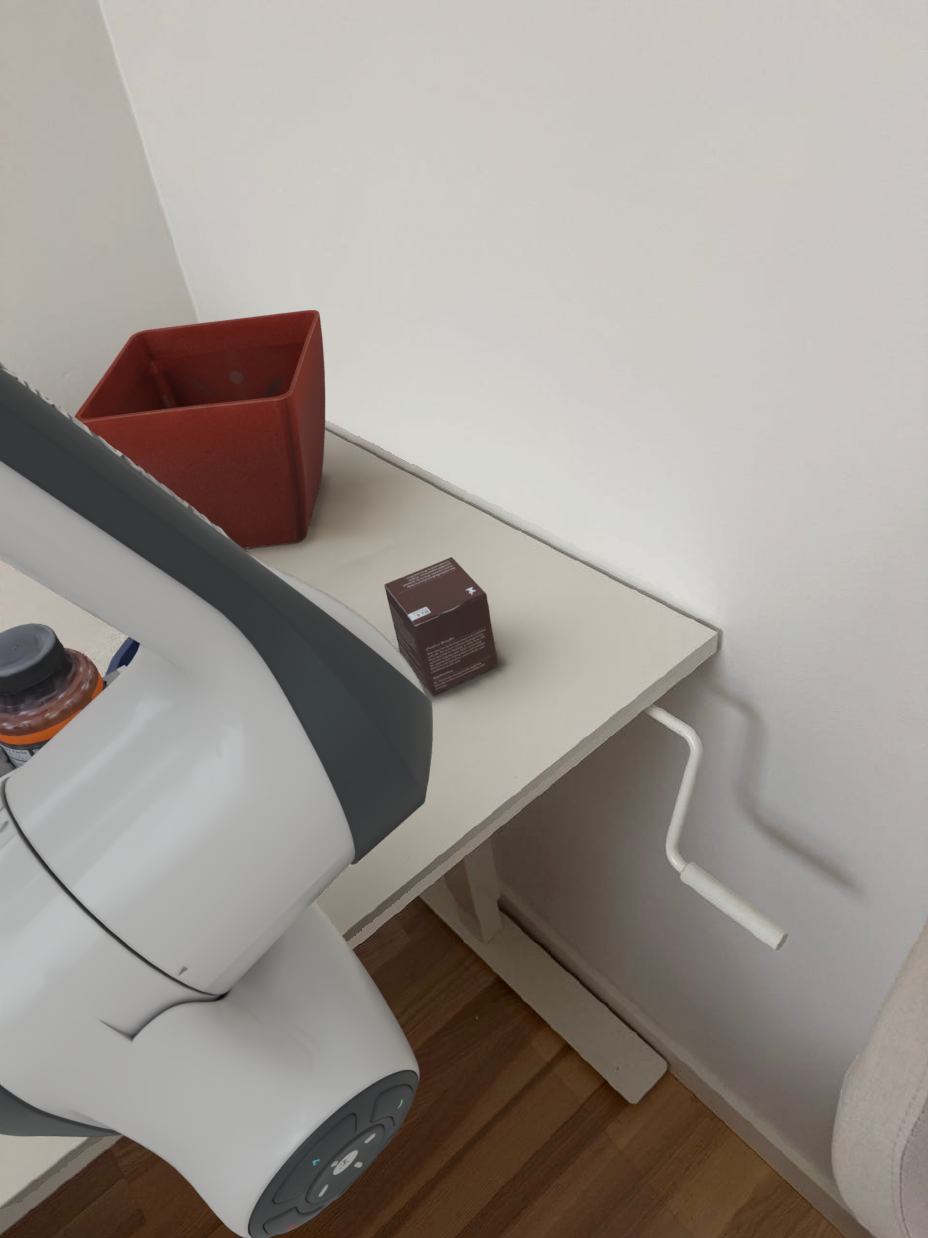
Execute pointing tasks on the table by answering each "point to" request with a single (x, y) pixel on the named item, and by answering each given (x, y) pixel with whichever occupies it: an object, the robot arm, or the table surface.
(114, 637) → the table surface
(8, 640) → the supplement bottle
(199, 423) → the flower pot
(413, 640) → the box
